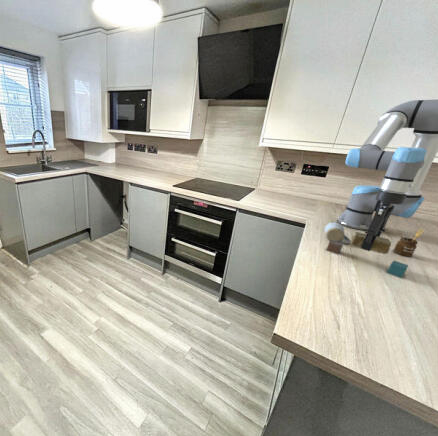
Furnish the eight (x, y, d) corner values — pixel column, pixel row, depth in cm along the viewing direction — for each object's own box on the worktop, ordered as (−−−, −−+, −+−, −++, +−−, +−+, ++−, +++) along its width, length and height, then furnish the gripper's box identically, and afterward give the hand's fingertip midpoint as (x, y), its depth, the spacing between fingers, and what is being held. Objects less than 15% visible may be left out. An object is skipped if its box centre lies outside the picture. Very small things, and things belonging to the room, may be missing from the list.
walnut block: (329, 247, 106) (332, 239, 105) (340, 251, 103) (343, 243, 102) (326, 250, 104) (329, 241, 103) (337, 253, 101) (340, 245, 100)
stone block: (349, 241, 99) (353, 230, 97) (385, 250, 93) (391, 239, 91) (350, 245, 95) (354, 234, 93) (388, 255, 89) (394, 244, 87)
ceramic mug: (323, 239, 114) (328, 225, 111) (322, 234, 120) (327, 220, 118) (350, 246, 109) (357, 231, 106) (348, 240, 115) (354, 226, 112)
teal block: (389, 269, 91) (393, 260, 90) (403, 274, 88) (408, 265, 87) (386, 272, 89) (391, 263, 88) (401, 277, 86) (406, 268, 85)
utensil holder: (389, 250, 107) (400, 225, 103) (403, 250, 107) (415, 226, 103) (401, 256, 102) (414, 231, 98) (416, 257, 102) (429, 232, 97)
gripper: (401, 197, 77) (373, 257, 85) (412, 191, 88) (386, 245, 96) (371, 191, 83) (348, 249, 91) (385, 186, 94) (363, 238, 102)
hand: (368, 247), depth 94 cm, fingers closed on stone block, 7 cm apart
